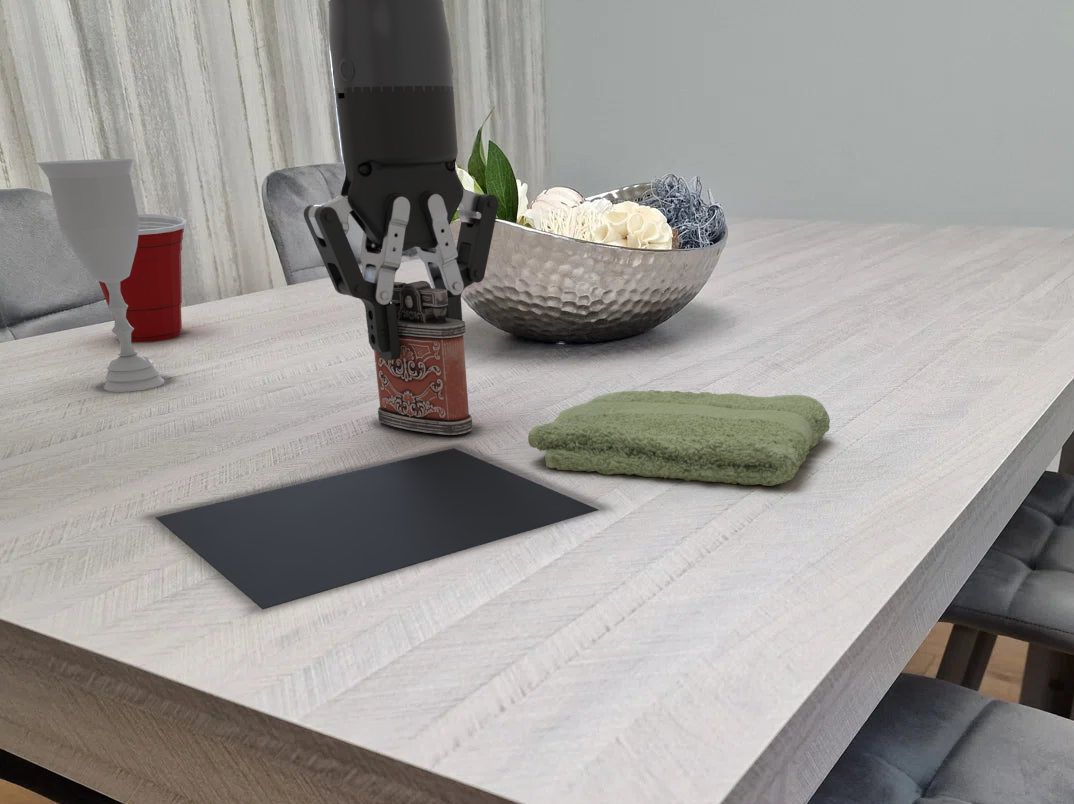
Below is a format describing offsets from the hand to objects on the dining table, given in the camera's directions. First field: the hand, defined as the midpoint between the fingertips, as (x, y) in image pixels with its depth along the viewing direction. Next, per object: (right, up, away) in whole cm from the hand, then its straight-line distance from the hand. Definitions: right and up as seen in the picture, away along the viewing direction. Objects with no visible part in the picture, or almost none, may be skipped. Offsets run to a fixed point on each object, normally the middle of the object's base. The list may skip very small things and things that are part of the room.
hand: (418, 351), depth 73 cm
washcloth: (+18, -8, -4) cm, 20 cm away
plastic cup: (-34, +10, +36) cm, 51 cm away
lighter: (0, -5, +2) cm, 5 cm away
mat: (0, -13, -14) cm, 19 cm away
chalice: (-27, +1, +17) cm, 32 cm away
